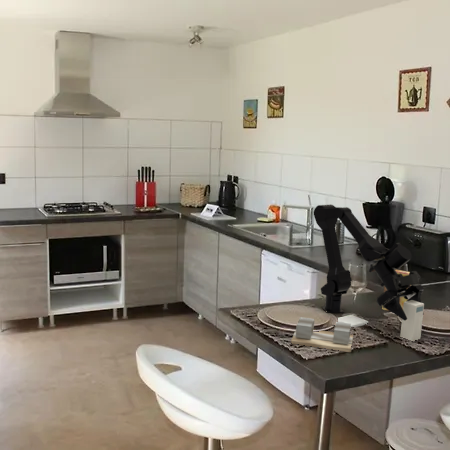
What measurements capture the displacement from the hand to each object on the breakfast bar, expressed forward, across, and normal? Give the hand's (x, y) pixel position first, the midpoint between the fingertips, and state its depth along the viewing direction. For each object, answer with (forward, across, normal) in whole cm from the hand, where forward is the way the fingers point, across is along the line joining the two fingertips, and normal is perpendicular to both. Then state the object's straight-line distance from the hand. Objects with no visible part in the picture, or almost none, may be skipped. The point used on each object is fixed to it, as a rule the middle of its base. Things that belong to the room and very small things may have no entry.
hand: (414, 317), depth 189 cm
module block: (+5, 0, +6) cm, 7 cm away
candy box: (-10, +21, +20) cm, 31 cm away
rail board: (-5, -27, +15) cm, 31 cm away
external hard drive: (-10, -7, +21) cm, 24 cm away
